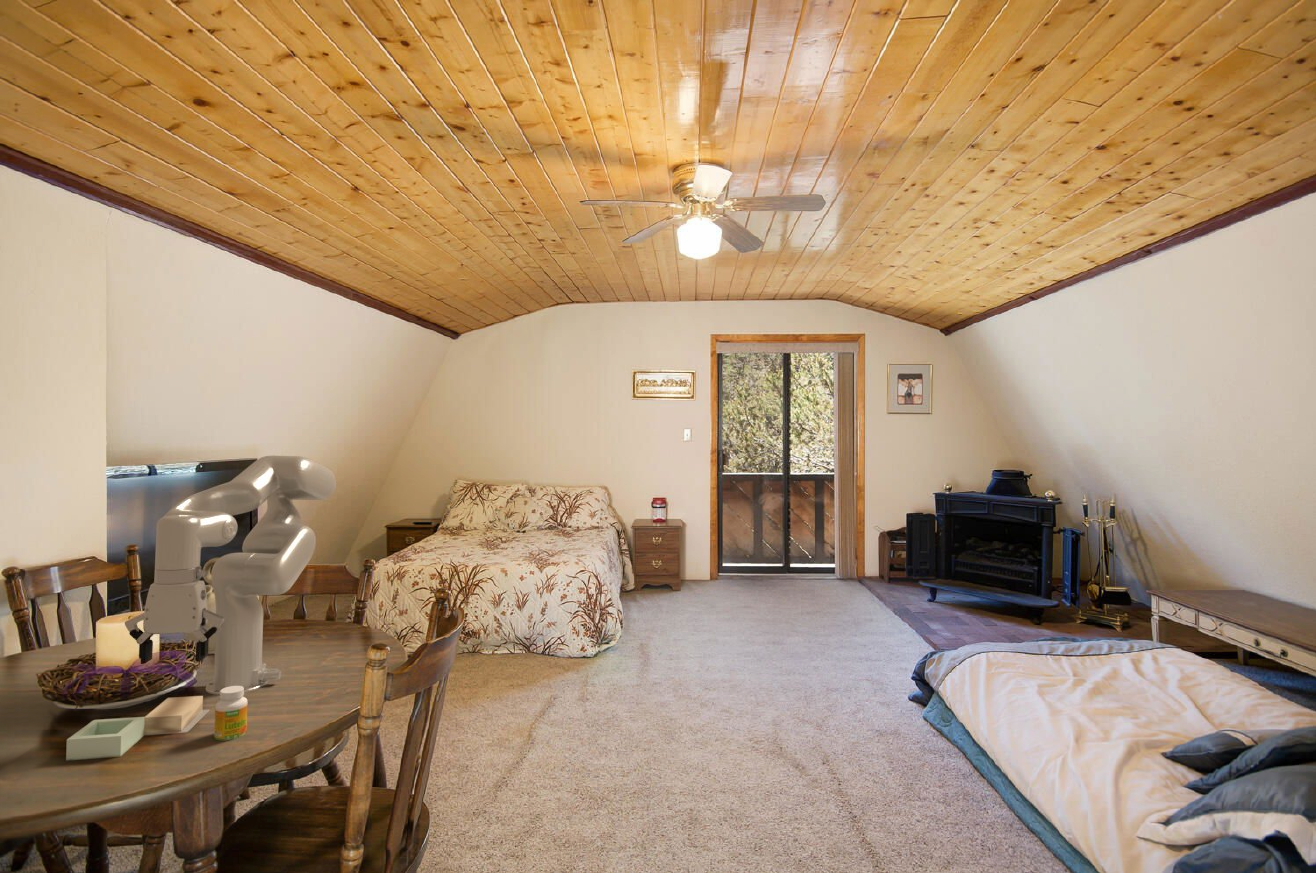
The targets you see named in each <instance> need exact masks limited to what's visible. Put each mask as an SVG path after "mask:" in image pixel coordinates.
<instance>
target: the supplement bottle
mask: <svg viewBox="0 0 1316 873" xmlns="http://www.w3.org/2000/svg"><path fill="white" fill-rule="evenodd" d="M244 695H245V692H244V687H242V686H230V687H226V688H223V689H222V690H221V691H220V695H219V699H220V700H218V701H217V703H216V704H215V706H214V707H215V708H214V709H215V710H214V737H213V738H214V739H215V740H216V741H219V742H220V741H223V742H225V741H226V742H227V741H232V740H236V739H239V738H241V737H243V736H245V735H247V731H248V699H247V698H246V697H245V696H244Z"/></svg>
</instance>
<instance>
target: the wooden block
mask: <svg viewBox="0 0 1316 873" xmlns="http://www.w3.org/2000/svg"><path fill="white" fill-rule="evenodd" d="M203 706H204V695H193V696H178V697H177V696H175V697H167V698H166V699H165V700H163V701H162V702H161V703H159V705H157V706H156V707H155V708H154V709H153V710H151V711H150V712H149V713H148V714H146V715H145V716H143V717H144V734H152V733H166V732H181V731H182V730H183V729H184V728H185V727H186V726H187V725H188V724H190V723H191V722H192V721H193V720H194V719H195V718H196V717H197V716H198V715H199V714H200V713H201V712H202V711H203V710H204V709H203V708H204V707H203Z"/></svg>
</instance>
